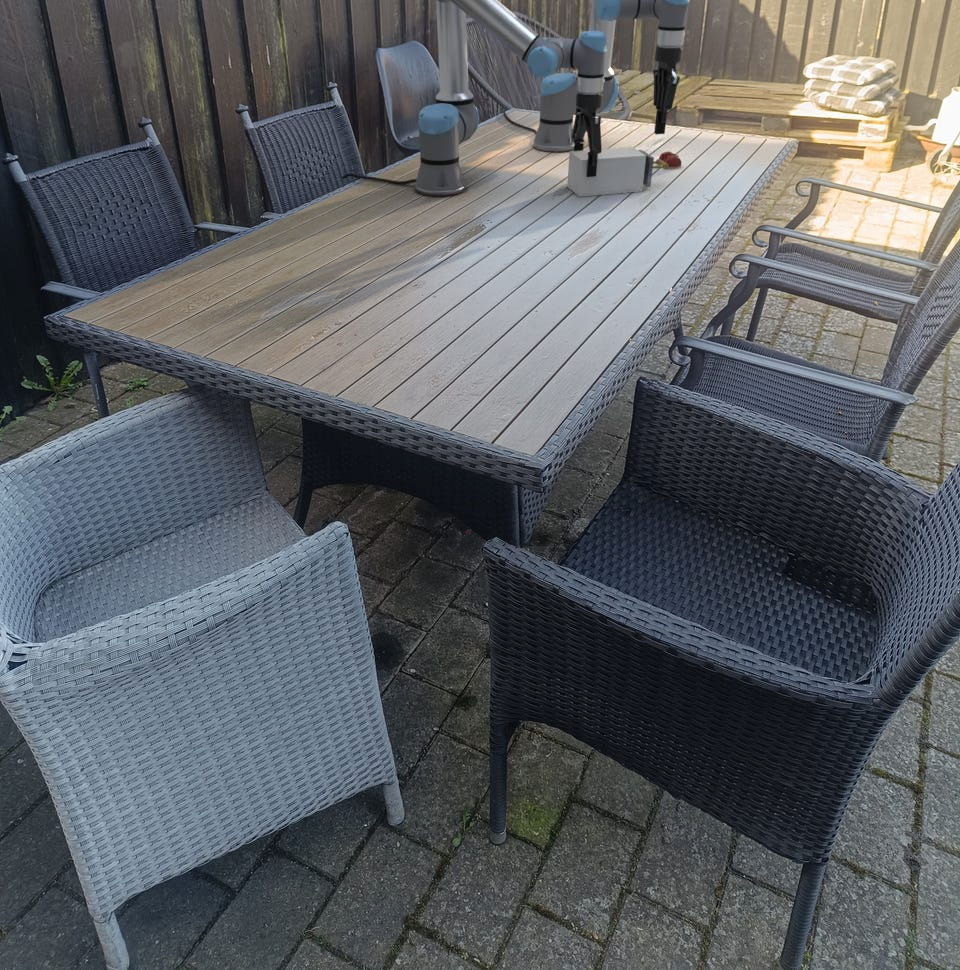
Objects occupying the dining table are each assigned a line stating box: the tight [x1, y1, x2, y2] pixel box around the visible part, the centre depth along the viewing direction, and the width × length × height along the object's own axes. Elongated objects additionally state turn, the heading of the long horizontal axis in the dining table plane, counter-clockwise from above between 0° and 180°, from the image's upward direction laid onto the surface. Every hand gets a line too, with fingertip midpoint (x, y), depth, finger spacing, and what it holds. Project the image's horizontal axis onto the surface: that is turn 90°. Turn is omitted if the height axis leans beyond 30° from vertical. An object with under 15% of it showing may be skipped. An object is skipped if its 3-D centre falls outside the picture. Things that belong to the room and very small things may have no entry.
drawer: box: [637, 149, 670, 188], centre depth 257 cm, size 26×9×9 cm, turn 105°
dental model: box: [658, 151, 682, 168], centre depth 279 cm, size 6×4×8 cm
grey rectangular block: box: [567, 146, 646, 198], centre depth 256 cm, size 20×10×11 cm, turn 105°
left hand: (584, 171), depth 254 cm, fingers open, 11 cm apart
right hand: (659, 133), depth 254 cm, fingers closed
